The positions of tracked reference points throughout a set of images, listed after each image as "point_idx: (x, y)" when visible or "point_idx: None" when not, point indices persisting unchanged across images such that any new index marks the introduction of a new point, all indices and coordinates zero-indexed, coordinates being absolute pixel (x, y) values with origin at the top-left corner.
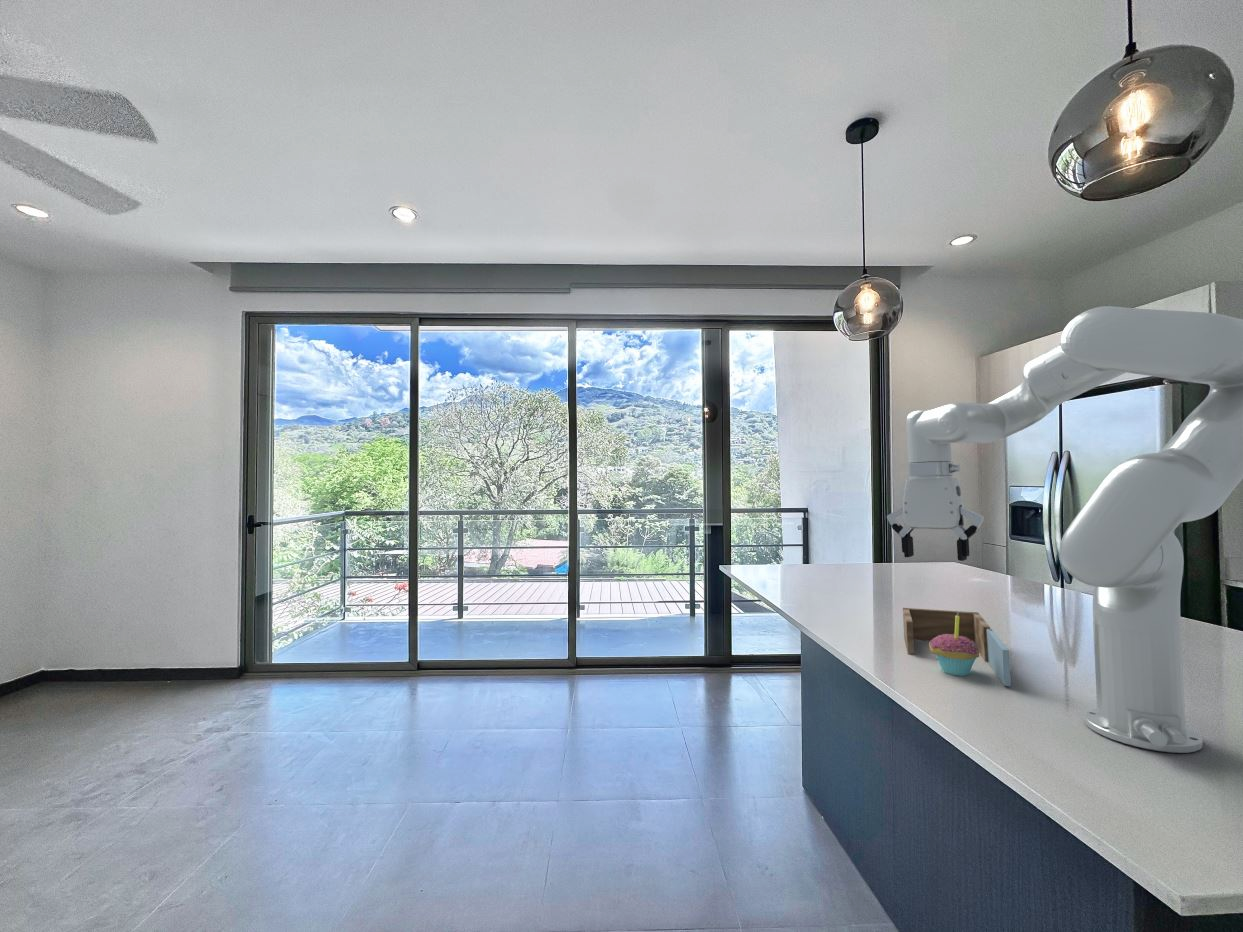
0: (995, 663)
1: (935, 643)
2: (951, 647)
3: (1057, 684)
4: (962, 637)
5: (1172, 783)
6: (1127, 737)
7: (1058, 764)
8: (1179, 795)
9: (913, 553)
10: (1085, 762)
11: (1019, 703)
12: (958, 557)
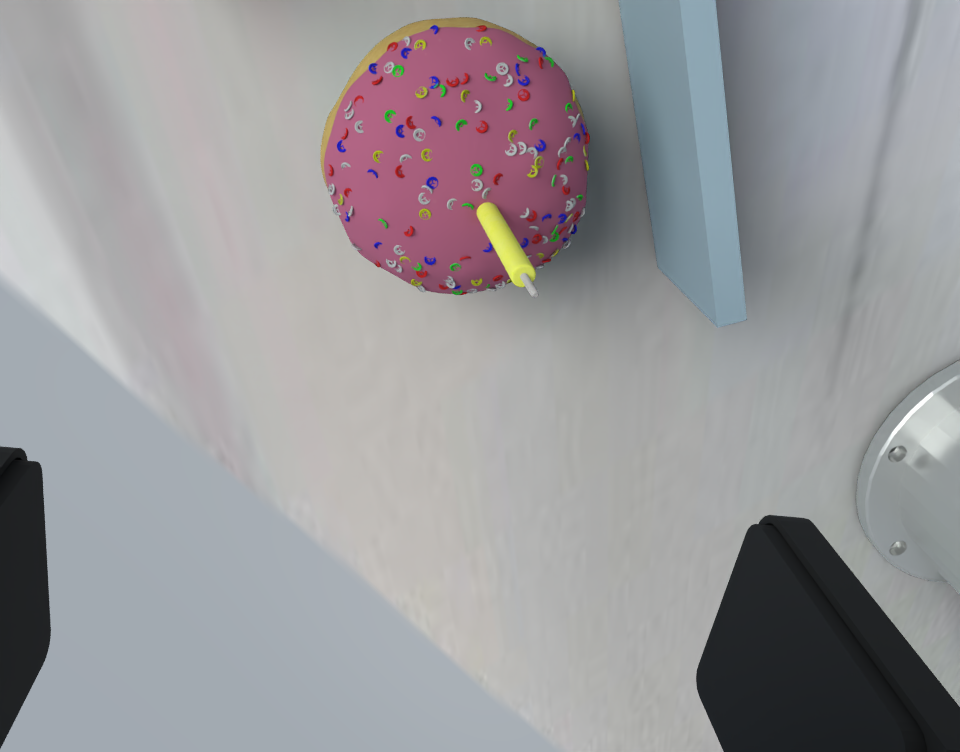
0: (645, 88)
1: (375, 253)
2: (465, 286)
3: (869, 69)
4: (518, 178)
5: None
6: (928, 579)
7: None
8: None
9: (28, 480)
10: None
11: (694, 409)
12: (714, 705)
